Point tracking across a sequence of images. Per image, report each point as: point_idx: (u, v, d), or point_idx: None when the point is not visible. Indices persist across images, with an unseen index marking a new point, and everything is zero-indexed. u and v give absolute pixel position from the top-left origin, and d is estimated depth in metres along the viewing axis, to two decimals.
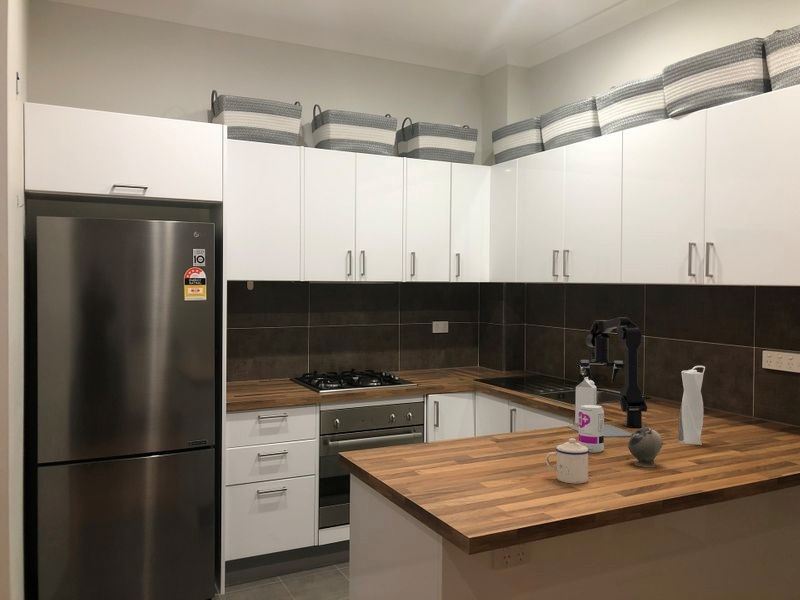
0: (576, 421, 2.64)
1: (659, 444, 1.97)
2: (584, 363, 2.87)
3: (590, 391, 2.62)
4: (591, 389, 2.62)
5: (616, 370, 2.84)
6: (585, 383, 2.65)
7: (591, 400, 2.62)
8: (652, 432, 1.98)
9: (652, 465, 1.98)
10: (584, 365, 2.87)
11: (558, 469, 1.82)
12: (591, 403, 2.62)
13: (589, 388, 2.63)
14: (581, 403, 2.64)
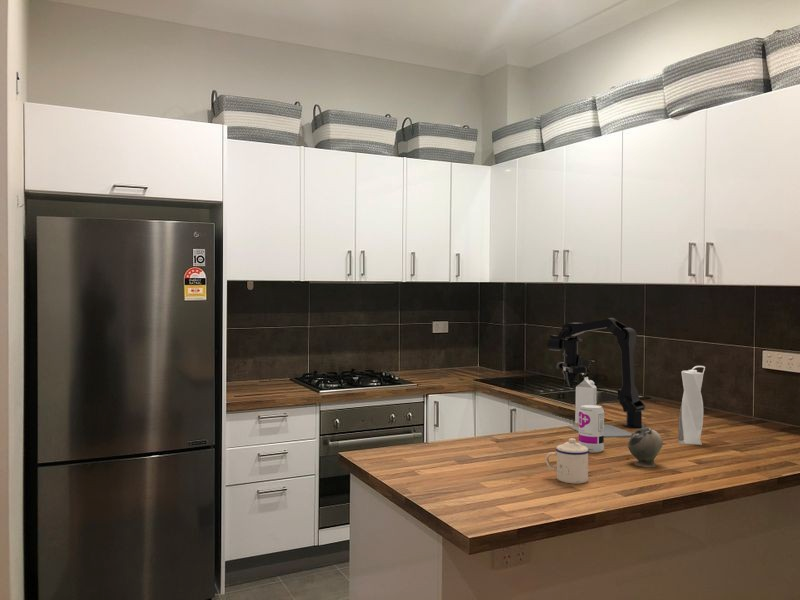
0: (576, 421, 2.64)
1: (659, 444, 1.97)
2: (557, 365, 2.88)
3: (590, 391, 2.62)
4: (591, 389, 2.62)
5: (566, 373, 2.79)
6: (585, 383, 2.65)
7: (591, 400, 2.62)
8: (652, 432, 1.98)
9: (652, 465, 1.98)
10: (557, 367, 2.88)
11: (558, 469, 1.82)
12: (591, 403, 2.62)
13: (589, 388, 2.63)
14: (581, 403, 2.64)
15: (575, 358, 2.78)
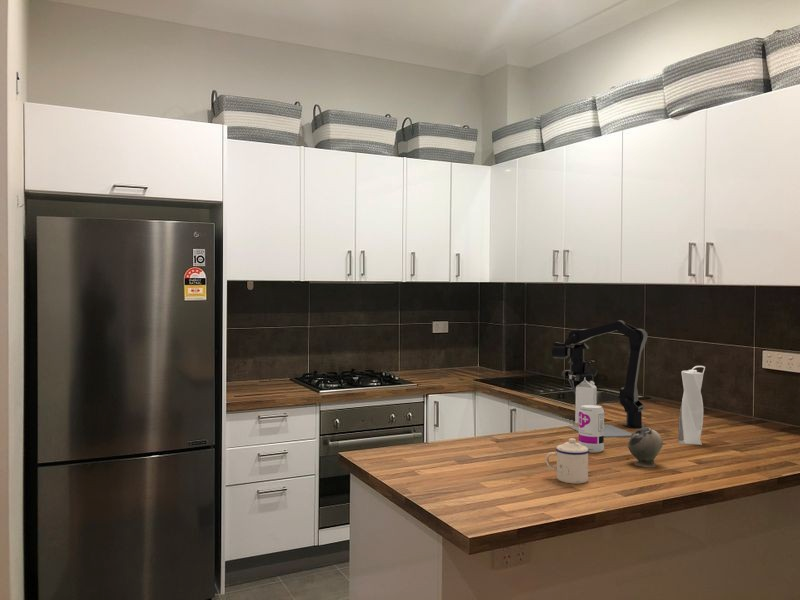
0: (576, 421, 2.64)
1: (659, 444, 1.97)
2: (563, 373, 2.81)
3: (590, 391, 2.62)
4: (591, 389, 2.62)
5: (572, 382, 2.72)
6: (585, 383, 2.65)
7: (591, 400, 2.62)
8: (652, 432, 1.98)
9: (652, 465, 1.98)
10: (563, 375, 2.81)
11: (558, 469, 1.82)
12: (591, 403, 2.62)
13: (589, 388, 2.63)
14: (581, 403, 2.64)
15: (581, 366, 2.71)
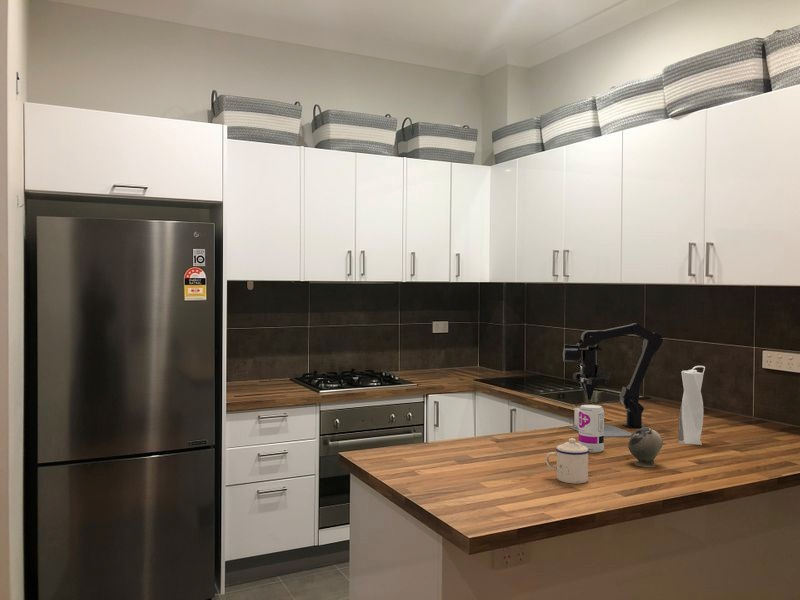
0: None
1: (659, 444, 1.97)
2: (574, 376, 2.70)
3: None
4: None
5: (584, 385, 2.61)
6: None
7: None
8: (652, 432, 1.98)
9: (652, 465, 1.98)
10: (574, 378, 2.70)
11: (558, 469, 1.82)
12: None
13: None
14: None
15: (594, 369, 2.60)
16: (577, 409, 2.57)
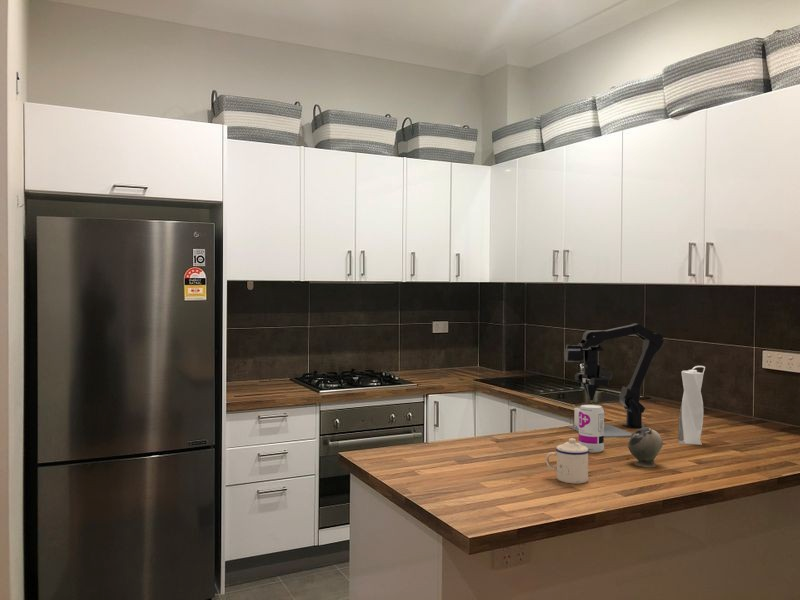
0: None
1: (659, 444, 1.97)
2: (576, 376, 2.68)
3: None
4: None
5: (586, 386, 2.59)
6: None
7: None
8: (652, 432, 1.98)
9: (652, 465, 1.98)
10: (576, 378, 2.68)
11: (558, 469, 1.82)
12: None
13: None
14: None
15: (596, 369, 2.58)
16: (577, 409, 2.57)
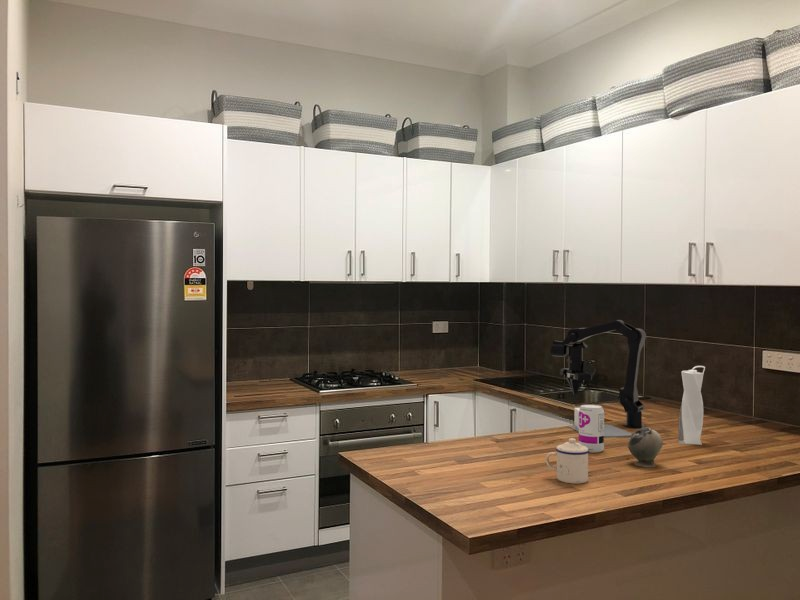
0: None
1: (659, 444, 1.97)
2: (561, 371, 2.82)
3: None
4: None
5: (571, 380, 2.73)
6: None
7: None
8: (652, 432, 1.98)
9: (652, 465, 1.98)
10: (561, 373, 2.82)
11: (558, 469, 1.82)
12: None
13: None
14: None
15: (580, 365, 2.72)
16: (577, 409, 2.57)
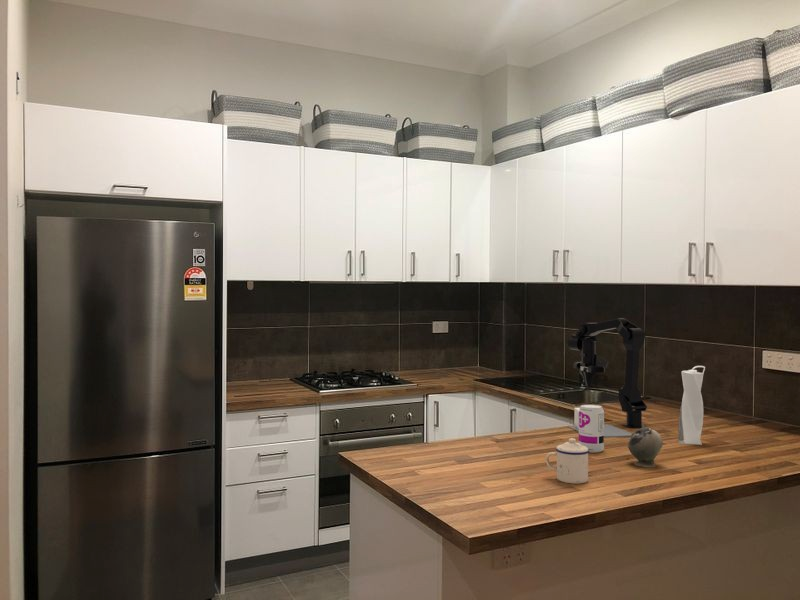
0: None
1: (659, 444, 1.97)
2: (574, 365, 2.90)
3: None
4: None
5: (584, 373, 2.81)
6: None
7: None
8: (652, 432, 1.98)
9: (652, 465, 1.98)
10: (574, 367, 2.90)
11: (558, 469, 1.82)
12: None
13: None
14: None
15: (593, 358, 2.81)
16: (577, 409, 2.57)
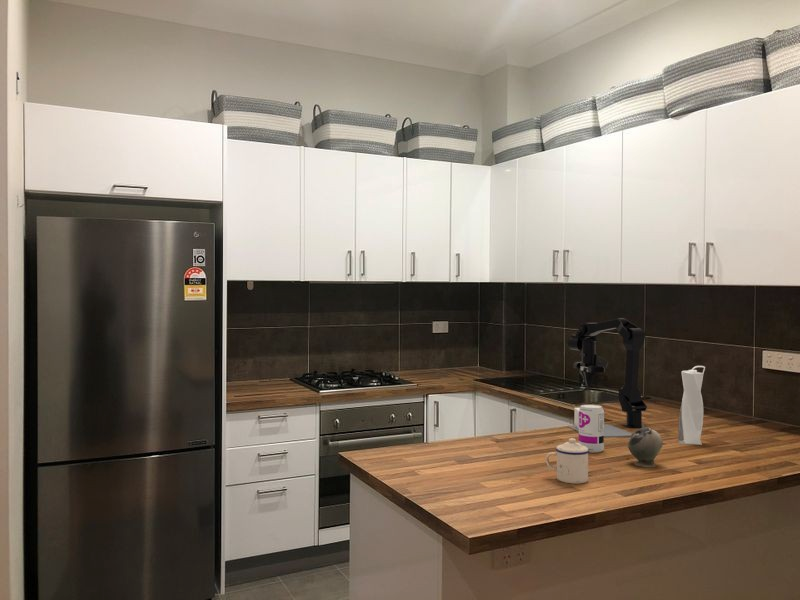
0: None
1: (659, 444, 1.97)
2: (574, 365, 2.90)
3: None
4: None
5: (584, 373, 2.81)
6: None
7: None
8: (652, 432, 1.98)
9: (652, 465, 1.98)
10: (574, 367, 2.90)
11: (558, 469, 1.82)
12: None
13: None
14: None
15: (593, 358, 2.81)
16: (577, 409, 2.57)
